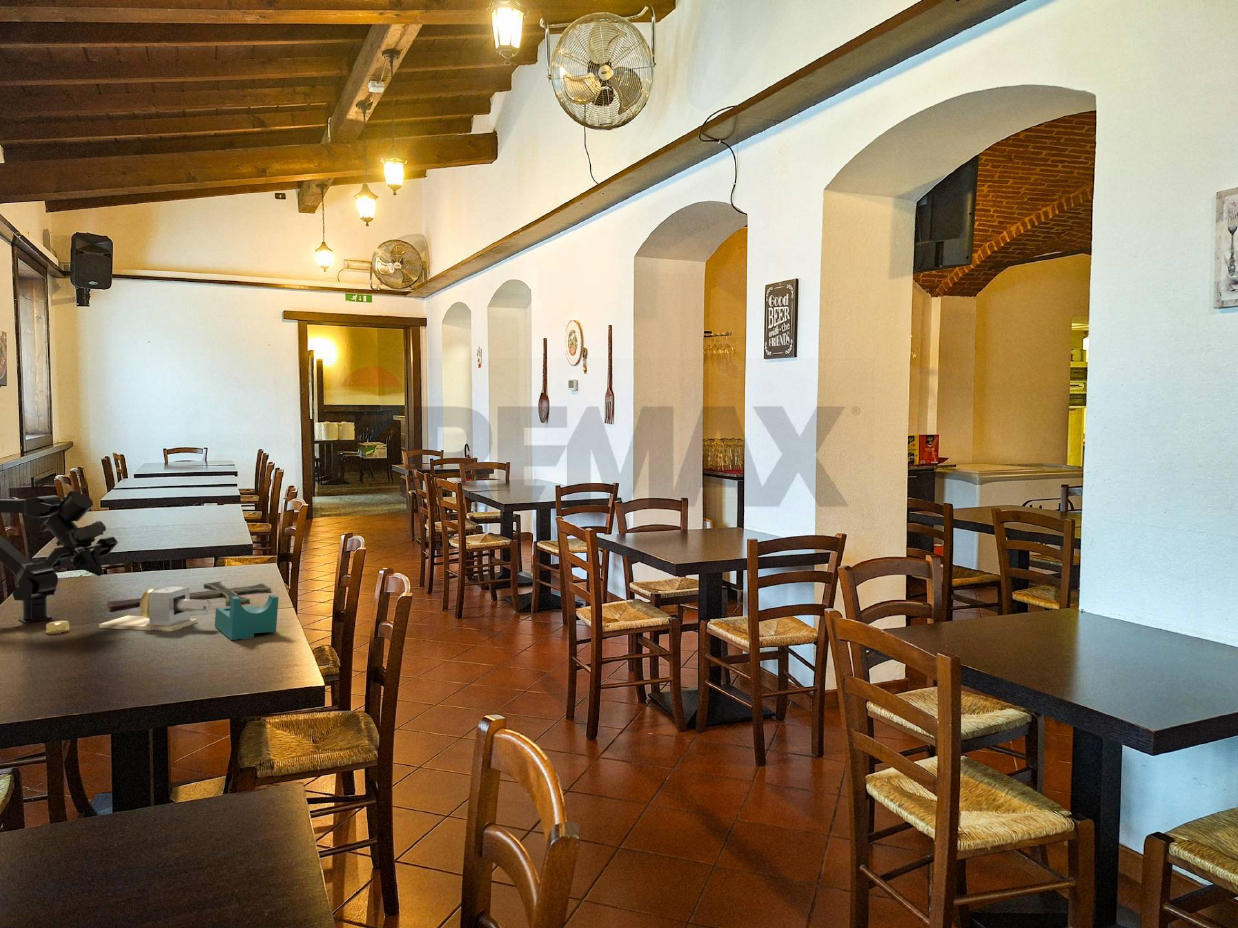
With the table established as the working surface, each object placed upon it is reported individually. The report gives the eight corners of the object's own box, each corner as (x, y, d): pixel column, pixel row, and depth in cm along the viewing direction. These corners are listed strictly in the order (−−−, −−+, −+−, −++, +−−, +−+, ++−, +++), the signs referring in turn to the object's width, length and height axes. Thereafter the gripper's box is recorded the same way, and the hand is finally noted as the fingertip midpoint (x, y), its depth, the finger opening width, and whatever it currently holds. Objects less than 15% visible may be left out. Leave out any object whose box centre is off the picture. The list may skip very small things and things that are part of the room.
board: (99, 627, 226) (99, 624, 226) (127, 618, 235) (127, 615, 235) (172, 631, 222) (171, 627, 222) (197, 622, 231) (197, 618, 231)
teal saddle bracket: (275, 637, 219) (278, 597, 219) (231, 639, 212) (234, 598, 212) (256, 623, 233) (259, 586, 233) (214, 626, 226) (217, 587, 226)
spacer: (43, 632, 221) (43, 623, 221) (65, 628, 225) (64, 619, 225) (50, 635, 218) (50, 626, 218) (72, 631, 222) (71, 622, 222)
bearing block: (149, 625, 224) (148, 592, 223) (170, 618, 232) (169, 586, 231) (169, 626, 223) (168, 593, 222) (190, 619, 231) (189, 587, 230)
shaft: (140, 621, 224) (139, 591, 224) (161, 614, 232) (160, 585, 232) (197, 624, 221) (196, 594, 221) (216, 617, 229) (215, 588, 229)
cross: (101, 594, 262) (253, 577, 290) (101, 599, 262) (253, 582, 290) (116, 615, 234) (282, 594, 262) (116, 621, 235) (283, 600, 262)
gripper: (52, 518, 220) (88, 563, 219) (111, 508, 238) (144, 549, 237) (29, 546, 223) (65, 590, 221) (89, 533, 241) (123, 574, 239)
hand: (101, 574), depth 230 cm, fingers closed
